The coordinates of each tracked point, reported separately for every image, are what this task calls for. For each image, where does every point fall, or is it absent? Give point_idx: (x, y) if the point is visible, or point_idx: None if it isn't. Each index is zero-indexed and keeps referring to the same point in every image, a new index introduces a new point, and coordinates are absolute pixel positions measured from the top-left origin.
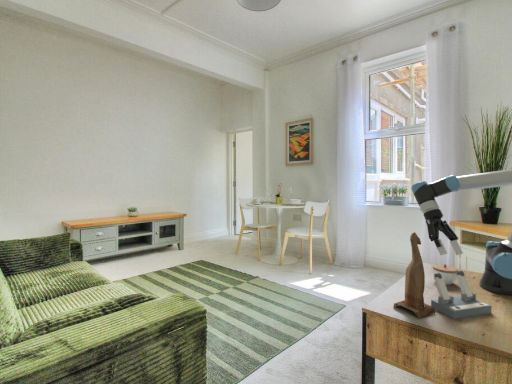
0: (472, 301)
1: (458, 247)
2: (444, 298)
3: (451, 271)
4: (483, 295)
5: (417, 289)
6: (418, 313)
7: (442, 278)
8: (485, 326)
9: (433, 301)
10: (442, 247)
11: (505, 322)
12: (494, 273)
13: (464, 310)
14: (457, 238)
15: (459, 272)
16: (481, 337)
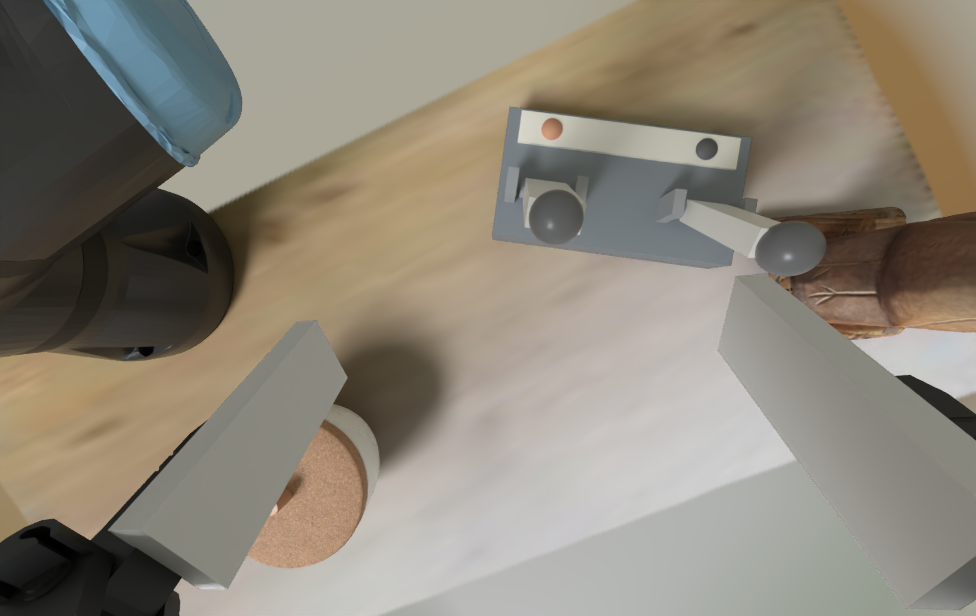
0: (545, 173)
1: (271, 392)
2: (727, 205)
3: (321, 425)
4: (325, 256)
5: None
6: (894, 210)
7: (762, 225)
8: (664, 63)
9: (732, 252)
10: (834, 351)
11: (545, 52)
12: (110, 258)
13: (685, 130)
14: (36, 544)
15: (579, 208)
16: (775, 18)
